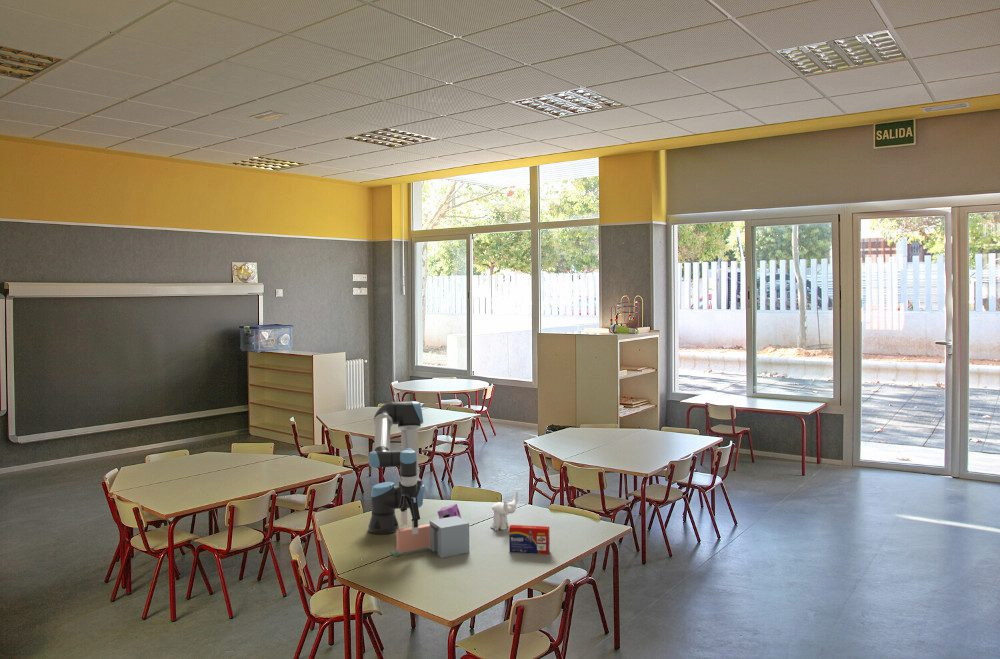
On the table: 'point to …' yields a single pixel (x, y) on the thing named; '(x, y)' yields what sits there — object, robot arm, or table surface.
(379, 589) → the table surface
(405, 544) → the long salmon pink block
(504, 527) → the toy animal
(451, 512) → the toy
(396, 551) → the mat
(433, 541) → the pale blue cube
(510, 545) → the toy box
